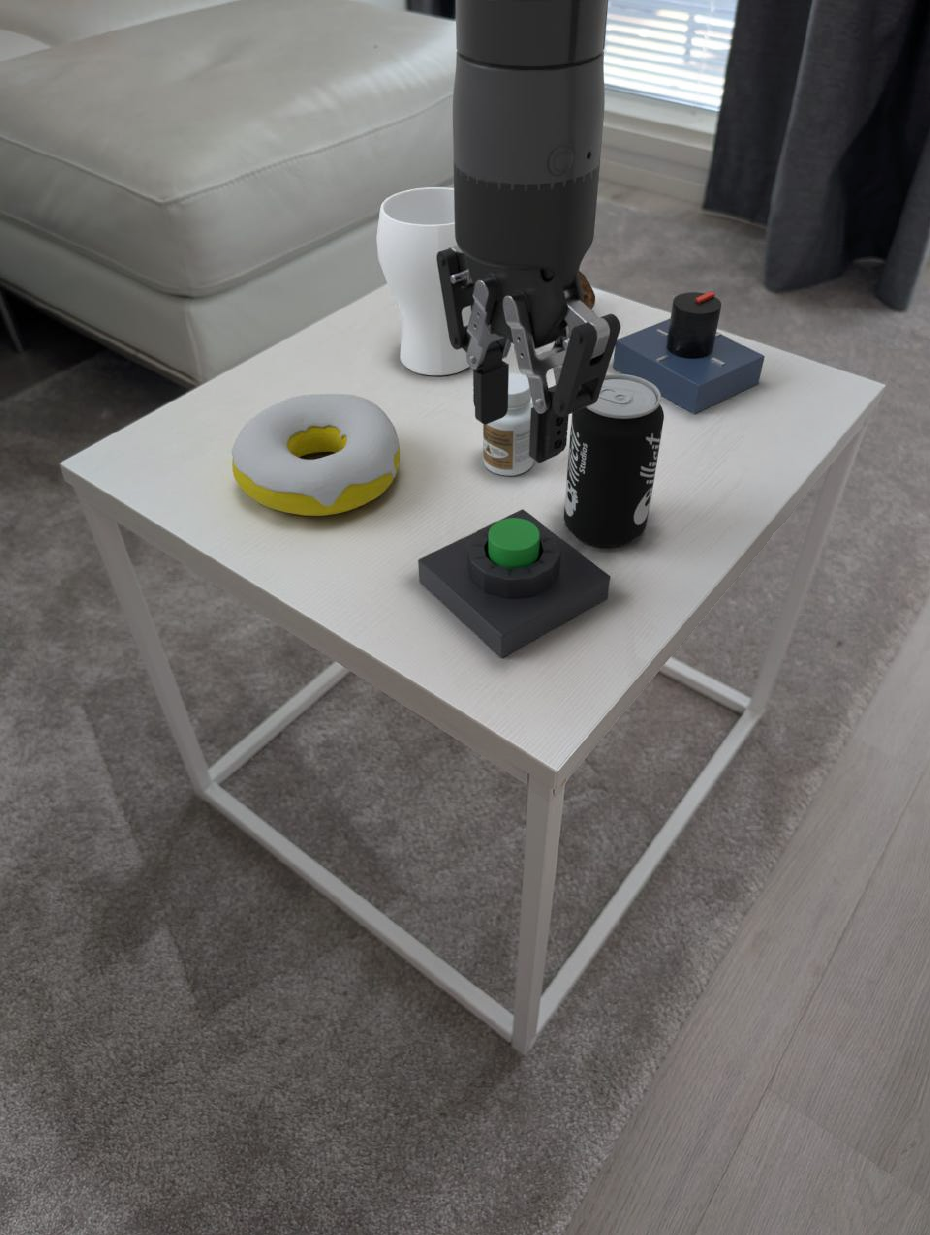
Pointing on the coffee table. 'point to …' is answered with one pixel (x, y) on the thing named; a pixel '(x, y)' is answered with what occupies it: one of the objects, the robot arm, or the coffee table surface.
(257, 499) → the donut
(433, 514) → the coffee table surface
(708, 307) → the program dial
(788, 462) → the coffee table surface
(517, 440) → the pill bottle
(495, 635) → the button block
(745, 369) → the control panel
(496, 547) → the button
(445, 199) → the cup
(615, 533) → the beverage can
